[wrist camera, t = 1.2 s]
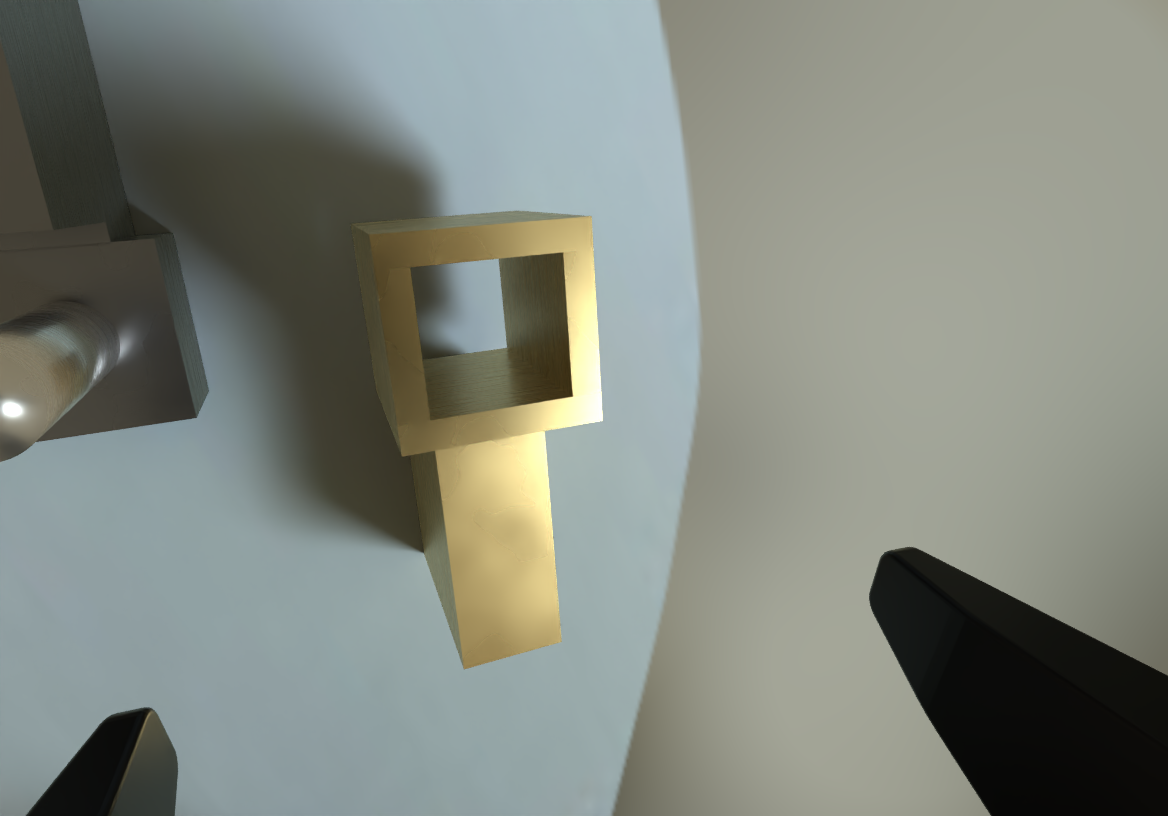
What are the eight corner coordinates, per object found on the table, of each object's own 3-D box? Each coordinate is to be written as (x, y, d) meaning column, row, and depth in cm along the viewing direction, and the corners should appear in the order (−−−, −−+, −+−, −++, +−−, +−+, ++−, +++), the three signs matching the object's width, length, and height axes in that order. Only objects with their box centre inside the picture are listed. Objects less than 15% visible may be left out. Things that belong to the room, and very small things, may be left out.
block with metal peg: (209, 390, 19) (158, 501, 12) (27, 416, 17) (-146, 557, 11) (102, -72, 15) (-49, -277, 9) (-130, -83, 14) (-519, -332, 7)
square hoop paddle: (523, 530, 23) (616, 669, 16) (397, 559, 22) (441, 722, 15) (493, 208, 20) (591, 216, 13) (343, 220, 19) (369, 234, 12)
